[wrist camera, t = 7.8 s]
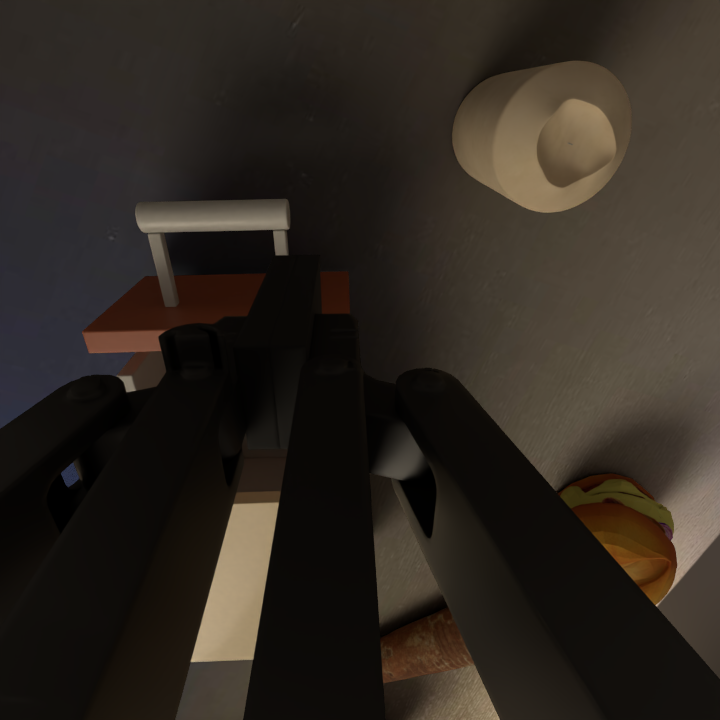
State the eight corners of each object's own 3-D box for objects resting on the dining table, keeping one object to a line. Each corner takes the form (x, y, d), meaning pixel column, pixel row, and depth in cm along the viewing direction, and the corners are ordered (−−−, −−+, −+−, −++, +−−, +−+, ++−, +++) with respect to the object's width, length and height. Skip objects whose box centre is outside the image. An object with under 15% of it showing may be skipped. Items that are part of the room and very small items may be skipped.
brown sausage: (525, 602, 47) (546, 659, 43) (368, 661, 52) (370, 719, 47) (501, 569, 45) (521, 626, 40) (337, 634, 49) (336, 693, 44)
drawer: (122, 186, 26) (41, 217, 19) (346, 182, 26) (347, 210, 19) (191, 457, 36) (154, 543, 29) (353, 452, 36) (356, 535, 29)
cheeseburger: (601, 561, 44) (636, 663, 35) (505, 508, 44) (517, 598, 35) (680, 493, 40) (743, 590, 31) (573, 433, 40) (607, 514, 31)
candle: (567, 96, 25) (686, 92, 16) (518, 195, 28) (599, 238, 19) (477, 56, 24) (552, 29, 15) (435, 163, 27) (479, 193, 18)
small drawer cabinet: (175, 407, 34) (120, 507, 26) (360, 401, 35) (366, 499, 26) (212, 549, 42) (178, 663, 33) (363, 543, 42) (368, 655, 34)
